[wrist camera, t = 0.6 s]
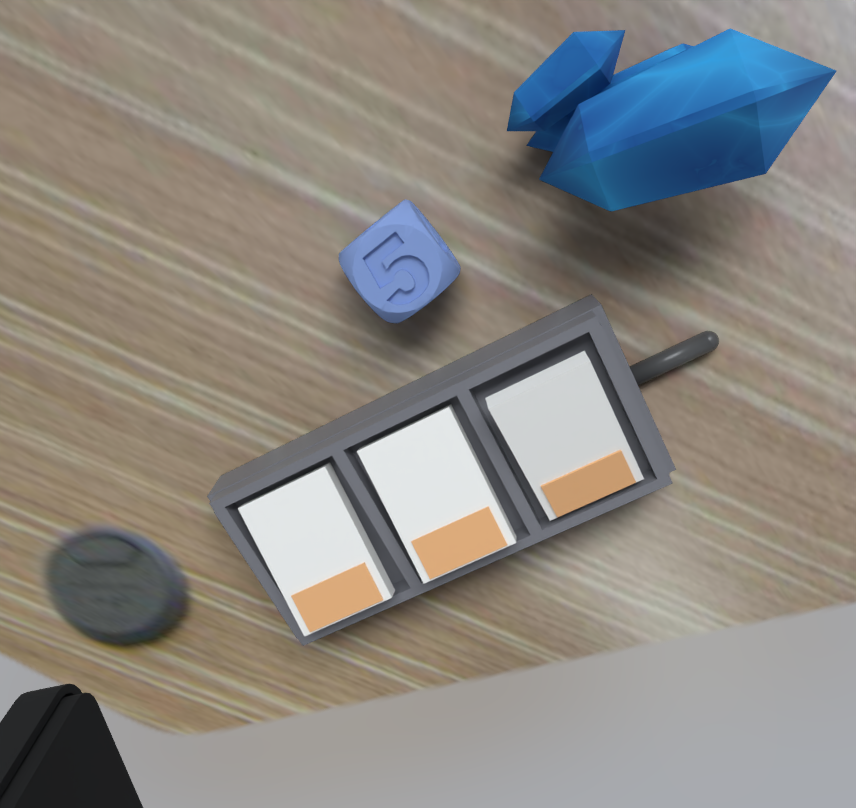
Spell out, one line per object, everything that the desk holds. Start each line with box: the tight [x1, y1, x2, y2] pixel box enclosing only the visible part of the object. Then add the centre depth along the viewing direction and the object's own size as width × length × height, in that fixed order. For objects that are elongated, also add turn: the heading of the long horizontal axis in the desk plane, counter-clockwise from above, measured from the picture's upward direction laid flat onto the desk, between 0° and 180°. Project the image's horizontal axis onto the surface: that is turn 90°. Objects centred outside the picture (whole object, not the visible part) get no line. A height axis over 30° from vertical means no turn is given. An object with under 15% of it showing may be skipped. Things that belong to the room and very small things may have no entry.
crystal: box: [507, 29, 836, 211], centre depth 32 cm, size 7×9×12 cm
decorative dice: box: [339, 200, 460, 323], centre depth 36 cm, size 4×4×4 cm
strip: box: [207, 294, 719, 646], centre depth 39 cm, size 26×9×4 cm, turn 117°
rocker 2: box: [485, 351, 644, 521], centre depth 36 cm, size 5×7×1 cm
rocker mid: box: [357, 404, 517, 583], centre depth 37 cm, size 5×7×1 cm
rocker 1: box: [238, 462, 395, 636], centre depth 38 cm, size 5×7×1 cm
